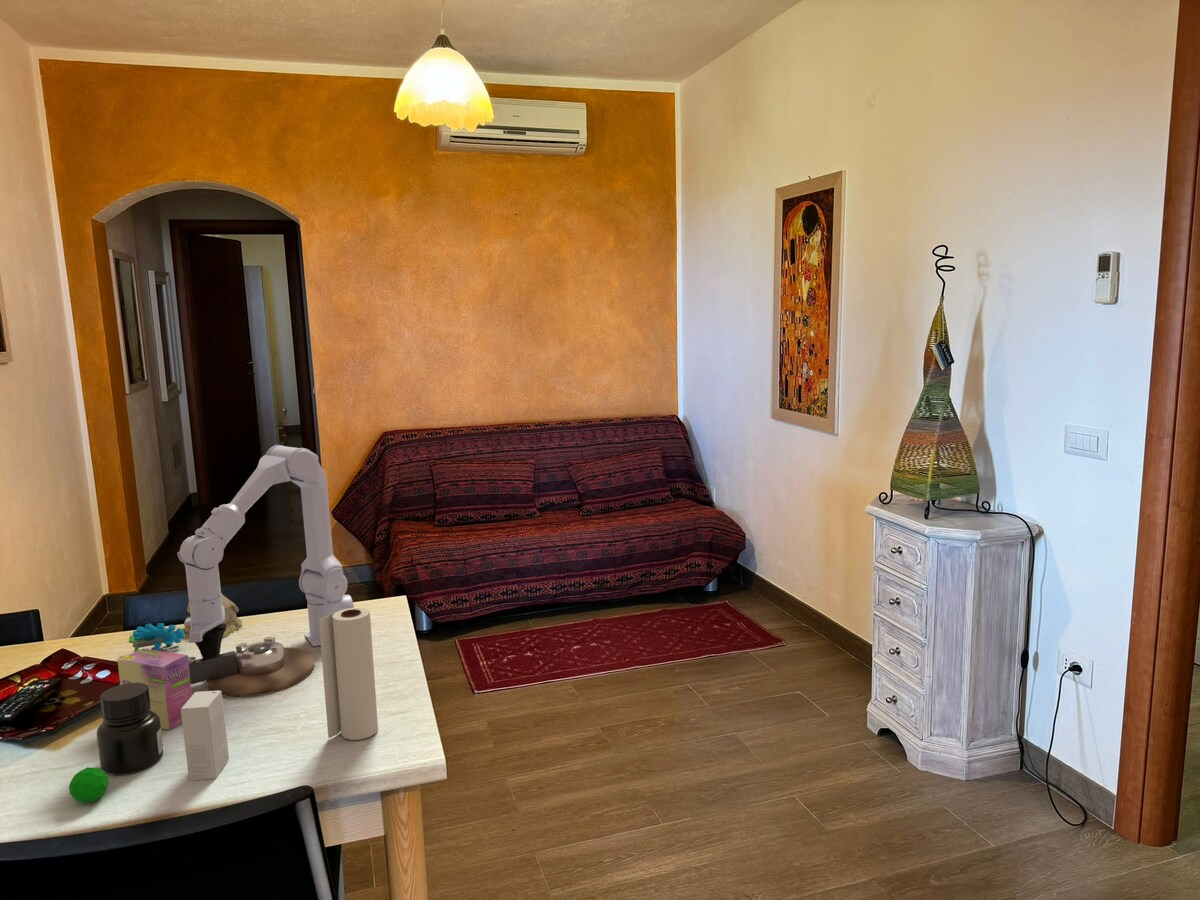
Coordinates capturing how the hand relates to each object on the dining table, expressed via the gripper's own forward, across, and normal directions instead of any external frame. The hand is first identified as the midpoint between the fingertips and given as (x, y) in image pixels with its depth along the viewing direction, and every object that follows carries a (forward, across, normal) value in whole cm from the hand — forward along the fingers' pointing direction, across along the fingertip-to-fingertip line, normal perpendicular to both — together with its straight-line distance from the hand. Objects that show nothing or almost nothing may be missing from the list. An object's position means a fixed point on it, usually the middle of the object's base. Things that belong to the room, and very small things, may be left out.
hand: (212, 663), depth 167 cm
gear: (+4, -17, -17) cm, 24 cm away
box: (+4, +16, -4) cm, 17 cm away
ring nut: (+2, +1, +5) cm, 5 cm away
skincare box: (+4, +36, +10) cm, 37 cm away
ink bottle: (+4, +31, -3) cm, 31 cm away
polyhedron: (+4, +41, -5) cm, 42 cm away
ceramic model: (+4, -29, -9) cm, 31 cm away
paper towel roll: (+4, +27, +32) cm, 42 cm away
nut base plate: (+3, -1, +9) cm, 9 cm away
